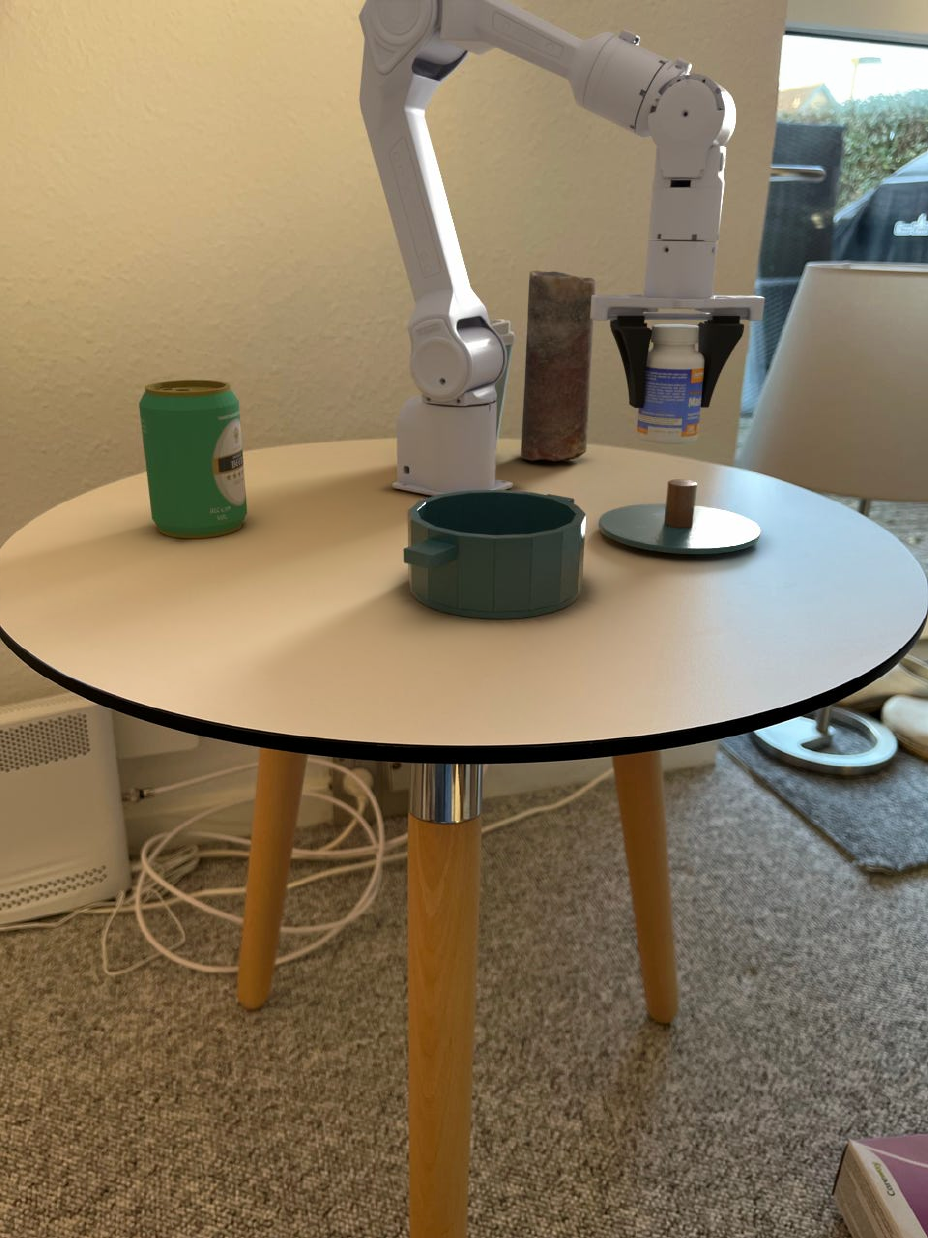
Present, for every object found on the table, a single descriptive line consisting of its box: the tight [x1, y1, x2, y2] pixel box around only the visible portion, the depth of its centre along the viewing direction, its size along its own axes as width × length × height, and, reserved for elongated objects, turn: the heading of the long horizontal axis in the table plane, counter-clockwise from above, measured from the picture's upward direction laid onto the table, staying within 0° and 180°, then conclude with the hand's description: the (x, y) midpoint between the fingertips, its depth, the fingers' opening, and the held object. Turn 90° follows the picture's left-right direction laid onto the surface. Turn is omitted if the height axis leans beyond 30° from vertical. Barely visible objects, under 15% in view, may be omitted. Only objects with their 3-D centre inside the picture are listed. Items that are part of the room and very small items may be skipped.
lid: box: [598, 478, 761, 555], centre depth 83 cm, size 13×13×5 cm
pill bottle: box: [636, 323, 705, 445], centre depth 86 cm, size 5×5×10 cm
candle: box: [520, 269, 597, 462], centre depth 107 cm, size 8×7×20 cm
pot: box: [403, 489, 587, 620], centre depth 70 cm, size 12×18×6 cm
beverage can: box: [138, 379, 248, 539], centre depth 83 cm, size 8×8×12 cm
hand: (668, 406), depth 86 cm, fingers closed on pill bottle, 5 cm apart
